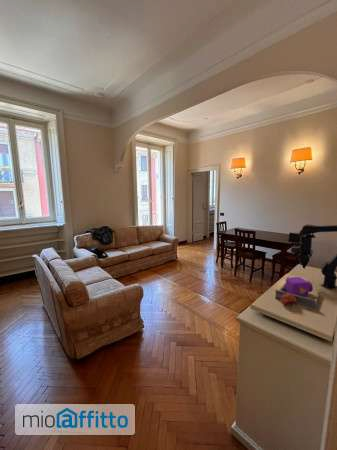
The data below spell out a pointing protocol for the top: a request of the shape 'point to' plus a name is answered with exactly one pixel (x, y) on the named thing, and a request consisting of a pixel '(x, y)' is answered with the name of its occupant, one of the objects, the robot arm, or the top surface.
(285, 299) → the pomegranate
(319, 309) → the top surface
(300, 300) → the guide bay
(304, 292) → the toy camera
